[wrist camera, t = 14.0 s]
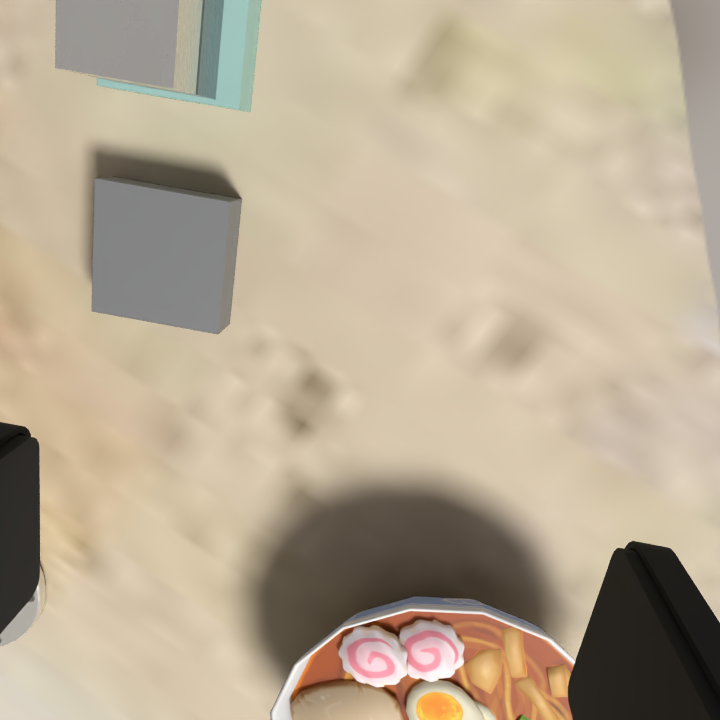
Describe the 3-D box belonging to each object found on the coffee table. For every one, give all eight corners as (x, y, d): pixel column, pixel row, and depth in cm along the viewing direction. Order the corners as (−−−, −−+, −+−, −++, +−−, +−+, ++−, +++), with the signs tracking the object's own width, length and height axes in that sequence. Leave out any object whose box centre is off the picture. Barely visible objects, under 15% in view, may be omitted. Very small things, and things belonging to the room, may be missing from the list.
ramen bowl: (504, 474, 43) (524, 545, 35) (658, 704, 48) (705, 812, 40) (220, 624, 49) (183, 713, 41) (382, 815, 54) (377, 927, 46)
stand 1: (117, 89, 37) (96, 85, 35) (122, -68, 34) (100, -84, 32) (250, 112, 37) (238, 109, 34) (265, -44, 34) (254, -59, 32)
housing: (123, -65, 32) (56, -114, 26) (228, -47, 32) (185, -92, 26) (117, 82, 34) (55, 67, 29) (215, 99, 34) (173, 88, 28)
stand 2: (110, 302, 41) (91, 311, 39) (114, 176, 39) (94, 178, 36) (229, 323, 41) (218, 334, 39) (241, 199, 38) (230, 202, 36)
